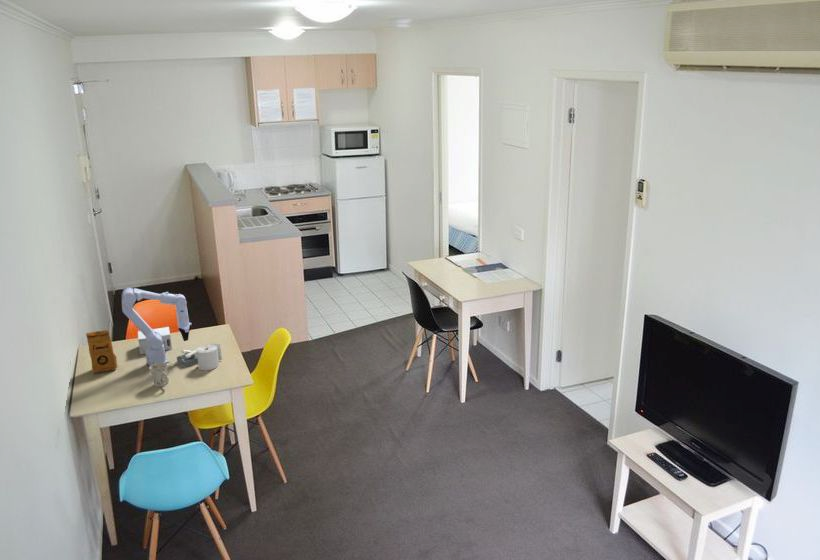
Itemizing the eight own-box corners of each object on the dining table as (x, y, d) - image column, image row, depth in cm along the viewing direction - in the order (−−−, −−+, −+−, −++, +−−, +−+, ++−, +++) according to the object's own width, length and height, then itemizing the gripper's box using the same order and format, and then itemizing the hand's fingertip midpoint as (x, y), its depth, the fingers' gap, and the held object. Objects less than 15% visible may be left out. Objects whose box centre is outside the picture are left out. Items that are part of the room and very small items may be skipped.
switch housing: (185, 367, 347) (183, 358, 345) (177, 362, 354) (176, 353, 352) (204, 360, 354) (203, 352, 353) (196, 355, 361) (195, 347, 359)
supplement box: (140, 354, 364) (137, 339, 361) (139, 346, 376) (137, 330, 373) (172, 349, 370) (170, 334, 367) (171, 340, 382) (168, 325, 379)
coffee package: (117, 371, 344) (110, 332, 337) (91, 375, 340) (83, 336, 333) (119, 364, 353) (112, 326, 346) (93, 367, 349) (86, 329, 342)
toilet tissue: (194, 370, 344) (192, 352, 341) (204, 360, 355) (202, 343, 352) (214, 370, 343) (212, 353, 339) (223, 360, 354) (221, 343, 351)
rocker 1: (183, 353, 351) (183, 351, 351) (181, 351, 353) (181, 349, 353) (193, 354, 355) (194, 351, 355) (191, 352, 357) (191, 350, 357)
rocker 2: (187, 358, 349) (187, 356, 348) (185, 357, 350) (184, 355, 350) (197, 353, 352) (197, 351, 351) (195, 351, 354) (194, 349, 353)
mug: (164, 378, 335) (161, 361, 332) (177, 385, 327) (175, 367, 324) (149, 385, 329) (146, 366, 325) (162, 392, 321) (159, 373, 318)
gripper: (193, 319, 348) (196, 343, 352) (187, 311, 360) (190, 334, 364) (179, 322, 345) (183, 346, 349) (173, 314, 356) (177, 337, 361)
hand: (185, 340), depth 356 cm, fingers closed
